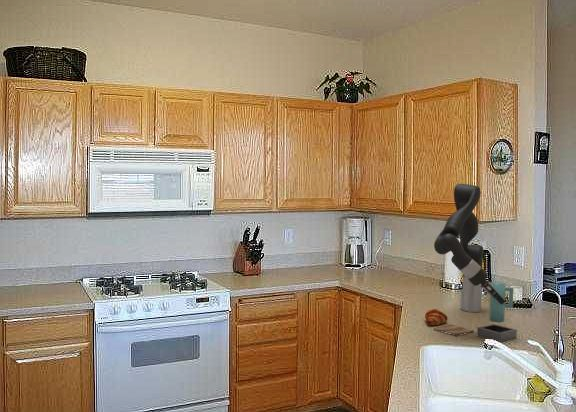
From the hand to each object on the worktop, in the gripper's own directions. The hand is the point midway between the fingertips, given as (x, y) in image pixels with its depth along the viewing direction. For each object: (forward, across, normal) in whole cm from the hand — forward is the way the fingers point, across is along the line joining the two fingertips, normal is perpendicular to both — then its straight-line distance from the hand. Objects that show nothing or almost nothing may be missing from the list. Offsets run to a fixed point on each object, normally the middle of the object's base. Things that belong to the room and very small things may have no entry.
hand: (501, 301), depth 237 cm
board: (-2, +6, +24) cm, 25 cm away
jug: (+6, 0, +6) cm, 8 cm away
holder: (+10, 0, +12) cm, 15 cm away
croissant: (-6, +20, +28) cm, 35 cm away
